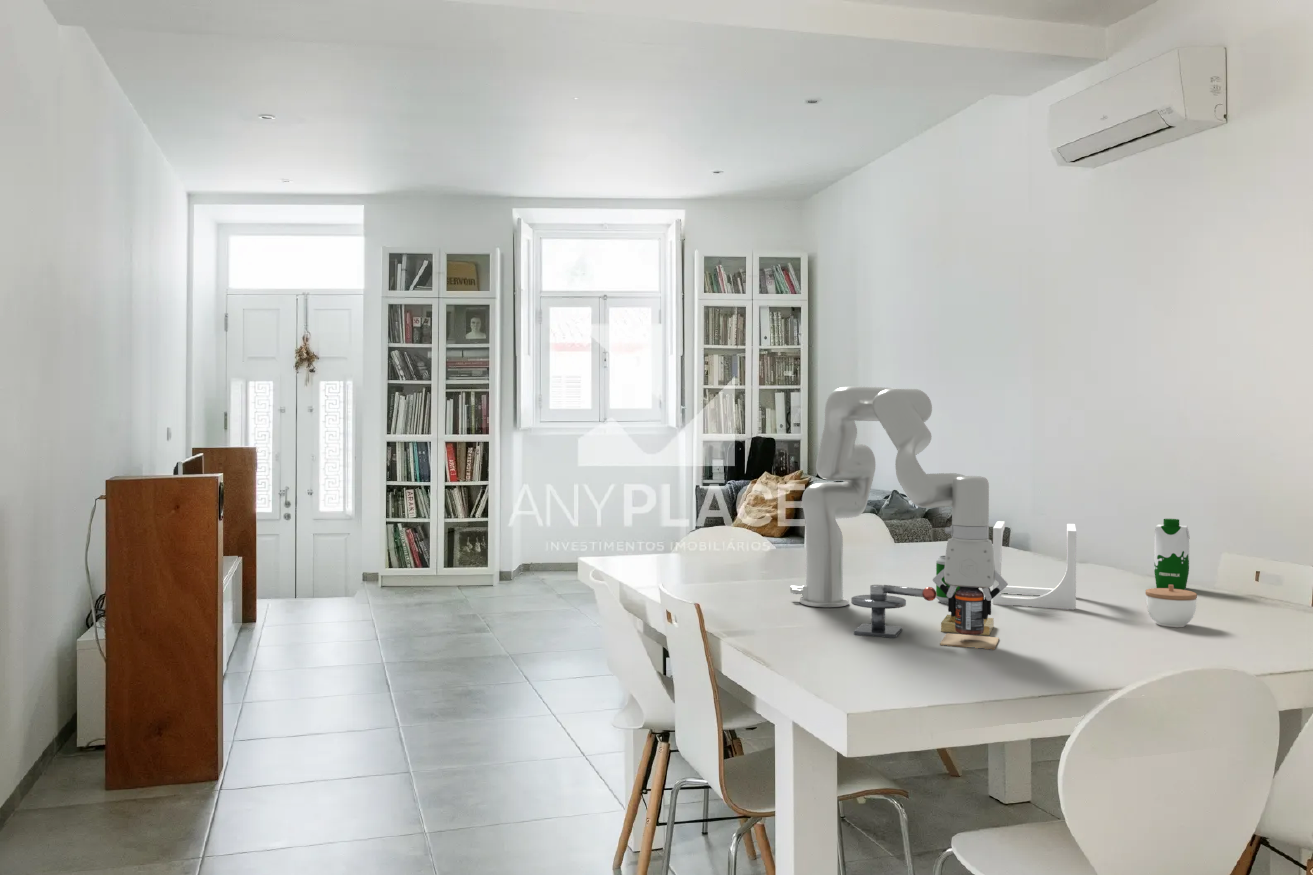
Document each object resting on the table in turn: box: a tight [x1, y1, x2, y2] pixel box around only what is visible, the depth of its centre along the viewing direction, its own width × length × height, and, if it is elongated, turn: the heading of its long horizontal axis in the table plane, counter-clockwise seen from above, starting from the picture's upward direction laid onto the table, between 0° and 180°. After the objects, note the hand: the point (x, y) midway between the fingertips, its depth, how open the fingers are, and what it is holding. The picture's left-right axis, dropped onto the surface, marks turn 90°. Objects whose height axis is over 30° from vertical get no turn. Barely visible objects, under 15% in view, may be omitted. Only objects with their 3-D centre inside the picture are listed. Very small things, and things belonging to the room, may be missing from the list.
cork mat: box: [939, 632, 1000, 651], centre depth 212 cm, size 11×11×1 cm
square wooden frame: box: [940, 614, 995, 636], centre depth 226 cm, size 10×10×2 cm
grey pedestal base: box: [853, 608, 903, 639], centre depth 222 cm, size 9×9×6 cm
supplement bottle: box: [955, 587, 985, 636], centre depth 212 cm, size 6×6×11 cm
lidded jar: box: [1145, 585, 1198, 628], centre depth 231 cm, size 11×11×9 cm
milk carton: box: [1153, 518, 1190, 590], centre depth 282 cm, size 9×9×20 cm
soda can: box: [935, 555, 960, 605], centre depth 260 cm, size 8×8×12 cm
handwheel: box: [850, 584, 937, 610], centre depth 219 cm, size 20×12×5 cm, turn 52°
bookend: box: [992, 520, 1077, 610], centre depth 263 cm, size 20×20×20 cm
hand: (969, 616), depth 212 cm, fingers closed on supplement bottle, 6 cm apart
